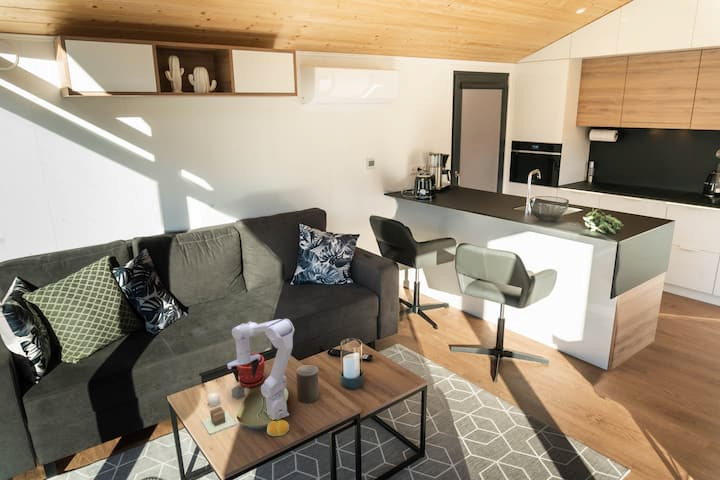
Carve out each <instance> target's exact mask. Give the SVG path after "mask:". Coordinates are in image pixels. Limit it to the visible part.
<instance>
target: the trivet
mask: <svg viewBox="0 0 720 480" xmlns="http://www.w3.org/2000/svg"><path fill="white" fill-rule="evenodd" d="M224 412H225V421H226V422H225V423H223V424H220V425H218V426H214V424H213V423H212V421H211V416H210V417H206V418H204V419H201V422H202V424H203V426H204V427H205V429H206V431H207V432H208V434H209V436H213V435H215V434H216V433H220V432H222V431H224V430H227V429H229V428H232V427H236V426H237V422H236V421H235V420H234V419H233V417H232V416H231V415H230V413H229V411H228V410H226V411H224Z"/></svg>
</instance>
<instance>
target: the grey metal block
mask: <svg viewBox="0 0 720 480" xmlns="http://www.w3.org/2000/svg"><path fill="white" fill-rule="evenodd" d="M245 391H246V390H245V387H244V386H242V385H236V386H235V387H233V388H231V397H232V398H234V399H235V400H240V399H242V398H244V397H245V396H246V392H245Z"/></svg>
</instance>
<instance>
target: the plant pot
mask: <svg viewBox="0 0 720 480" xmlns="http://www.w3.org/2000/svg"><path fill="white" fill-rule="evenodd" d="M257 354H258V353H250V356H251V355H257ZM259 355H260V360H258V361H259V365H258V367H257V370H256V375H255V377H254V376H253V375H252V367H251V362H250V363H248V364H244V365H239V366H236V367H237V369H238V370H239V371H238V377H239V382H238V383H240V386H242V387H247V388H252V387H257V386H258V385H259V386H260V384H262V383H263V382H264V381H265V380H264V379H265V376H264V374H265V367H266V366H265V358H264V356H263V355H261V354H259Z"/></svg>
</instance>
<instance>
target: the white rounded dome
mask: <svg viewBox="0 0 720 480" xmlns="http://www.w3.org/2000/svg"><path fill="white" fill-rule="evenodd" d="M206 397H207V403H208V407H210V408H217V407H218V406H220V405H221V399H220V392H219V391H218V390H212V391H209V392H208V393H207V396H206Z"/></svg>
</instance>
